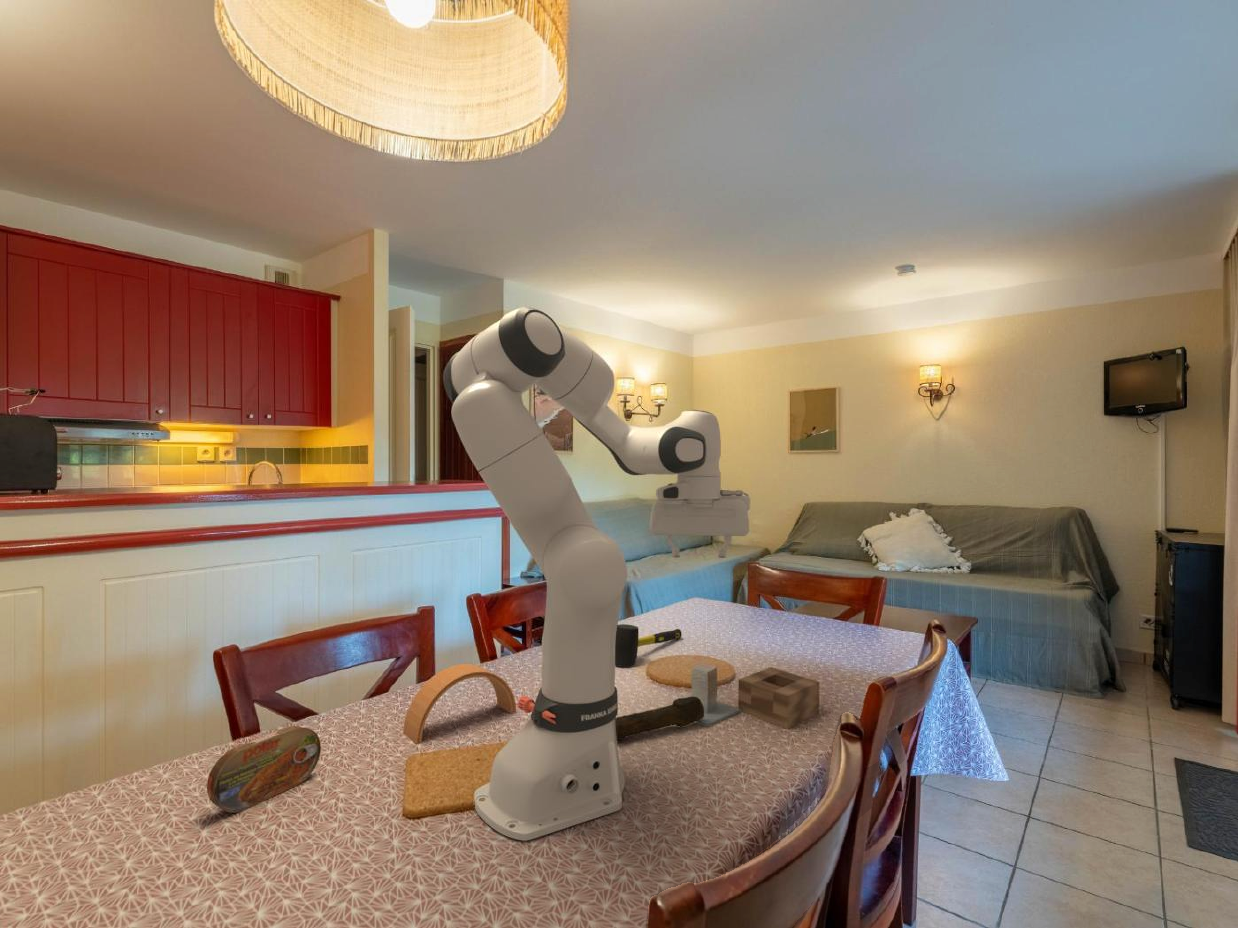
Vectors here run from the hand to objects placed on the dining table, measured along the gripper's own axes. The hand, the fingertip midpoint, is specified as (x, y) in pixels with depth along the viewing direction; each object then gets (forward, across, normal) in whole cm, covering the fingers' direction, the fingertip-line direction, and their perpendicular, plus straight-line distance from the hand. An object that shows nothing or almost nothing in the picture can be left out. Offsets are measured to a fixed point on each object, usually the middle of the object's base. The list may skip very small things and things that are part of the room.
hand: (698, 557), depth 123 cm
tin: (+29, +66, +40) cm, 82 cm away
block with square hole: (+29, -15, +5) cm, 33 cm away
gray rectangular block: (+29, -1, +6) cm, 29 cm away
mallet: (+30, +10, -30) cm, 43 cm away
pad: (+29, -1, +6) cm, 30 cm away
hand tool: (+29, +9, +15) cm, 34 cm away
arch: (+29, +45, +14) cm, 55 cm away
